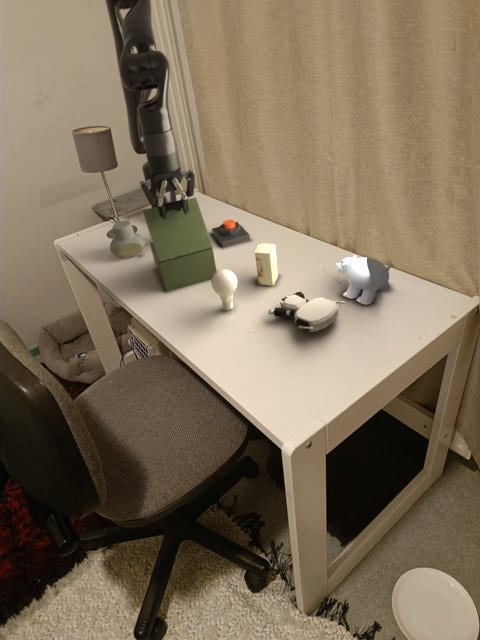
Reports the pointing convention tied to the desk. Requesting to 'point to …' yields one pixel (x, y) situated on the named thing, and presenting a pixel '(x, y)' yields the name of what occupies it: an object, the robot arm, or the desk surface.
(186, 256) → the green box
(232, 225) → the release button
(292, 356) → the desk surface
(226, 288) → the lightbulb
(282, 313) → the robot toy
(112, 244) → the air freshener
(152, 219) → the green handled lid
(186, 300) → the desk surface
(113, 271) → the desk surface
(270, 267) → the cream cardboard box
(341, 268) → the white animal-shaped figure
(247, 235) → the control block
